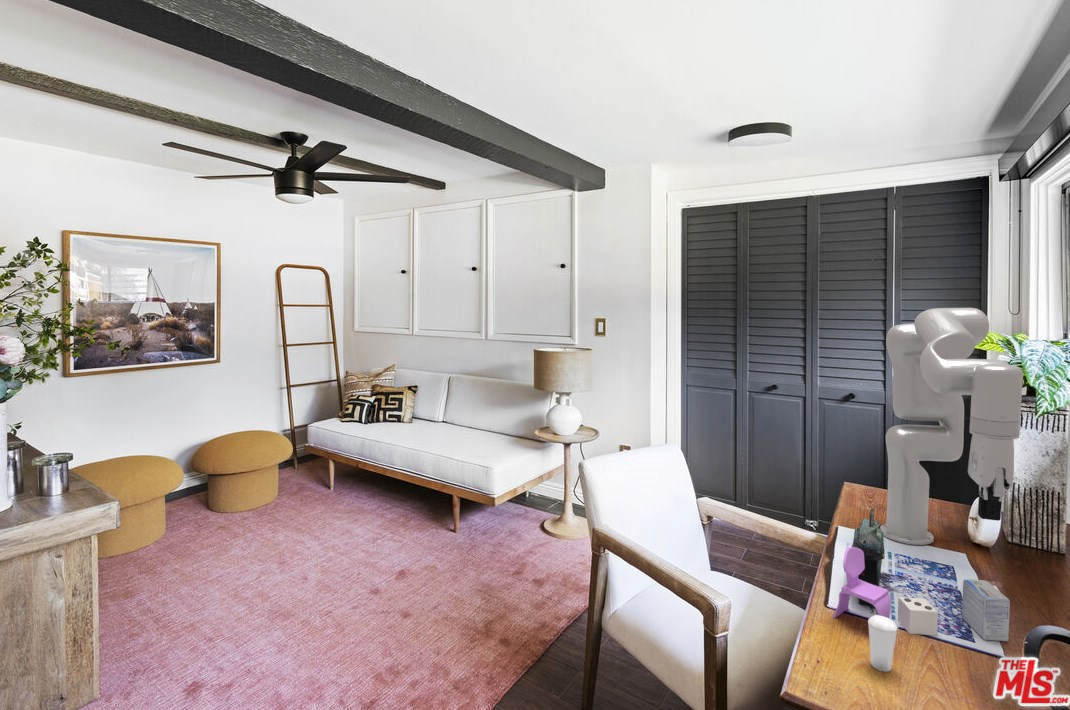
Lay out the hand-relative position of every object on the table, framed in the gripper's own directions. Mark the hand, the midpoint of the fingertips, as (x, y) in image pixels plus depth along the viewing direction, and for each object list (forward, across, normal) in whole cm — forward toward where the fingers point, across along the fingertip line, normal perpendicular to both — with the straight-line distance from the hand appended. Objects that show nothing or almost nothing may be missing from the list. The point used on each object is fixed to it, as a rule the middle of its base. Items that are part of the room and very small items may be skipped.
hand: (989, 518), depth 110 cm
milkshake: (+23, +22, -20) cm, 37 cm away
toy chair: (+23, +6, -22) cm, 33 cm away
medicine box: (+23, 0, 0) cm, 23 cm away
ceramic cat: (+23, -9, -19) cm, 32 cm away
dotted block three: (+23, +4, -12) cm, 26 cm away
